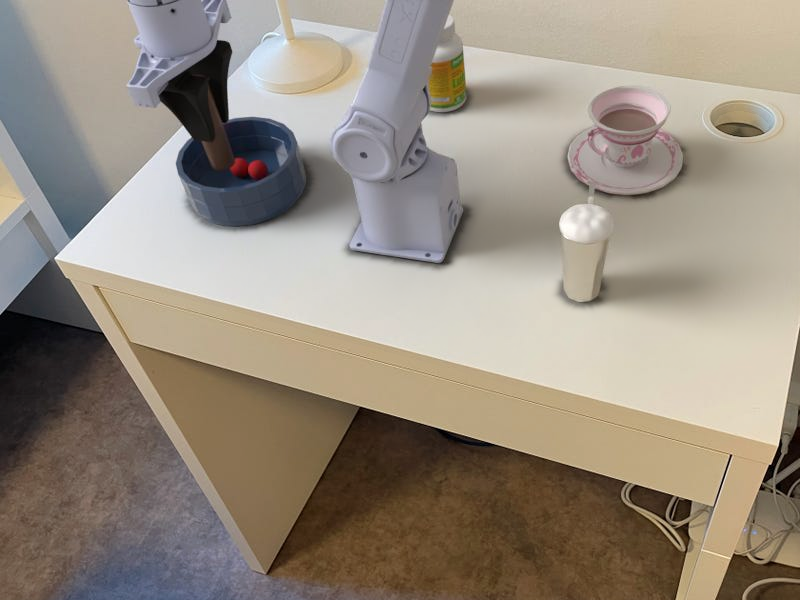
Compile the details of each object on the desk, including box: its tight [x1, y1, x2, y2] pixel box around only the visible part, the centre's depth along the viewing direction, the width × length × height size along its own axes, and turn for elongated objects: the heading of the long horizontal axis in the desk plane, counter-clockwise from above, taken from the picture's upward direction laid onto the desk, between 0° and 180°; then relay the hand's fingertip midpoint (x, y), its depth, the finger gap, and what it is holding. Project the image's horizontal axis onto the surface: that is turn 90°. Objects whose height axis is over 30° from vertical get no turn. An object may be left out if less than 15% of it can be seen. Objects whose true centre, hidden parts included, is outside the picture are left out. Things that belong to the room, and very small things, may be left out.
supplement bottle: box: [429, 13, 467, 113], centre depth 91 cm, size 5×5×10 cm
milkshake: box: [558, 182, 615, 303], centre depth 71 cm, size 4×5×10 cm
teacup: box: [566, 85, 684, 196], centre depth 84 cm, size 12×12×6 cm
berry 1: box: [230, 158, 249, 178], centre depth 86 cm, size 2×2×2 cm
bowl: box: [175, 116, 307, 227], centre depth 85 cm, size 12×12×4 cm
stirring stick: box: [193, 75, 235, 170], centre depth 77 cm, size 2×2×9 cm
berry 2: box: [248, 160, 268, 180], centre depth 86 cm, size 2×2×2 cm
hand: (211, 129), depth 77 cm, fingers closed on stirring stick, 2 cm apart
